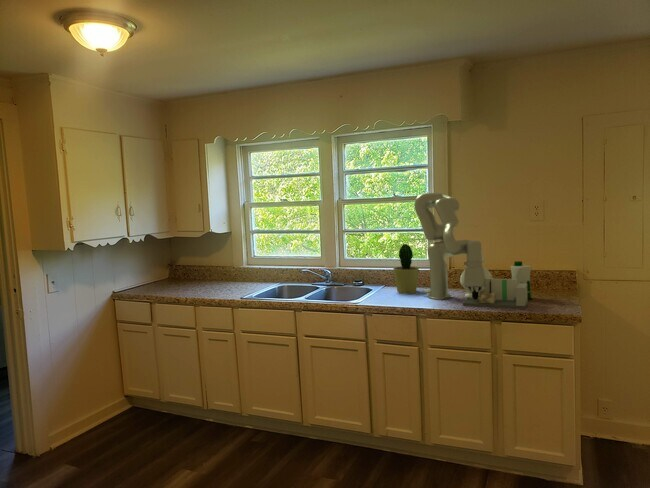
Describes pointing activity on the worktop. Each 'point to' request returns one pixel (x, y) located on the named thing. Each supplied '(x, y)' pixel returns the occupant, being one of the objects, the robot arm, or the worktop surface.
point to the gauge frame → (503, 294)
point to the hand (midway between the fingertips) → (475, 298)
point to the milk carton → (522, 275)
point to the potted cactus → (406, 271)
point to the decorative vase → (469, 294)
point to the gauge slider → (487, 297)
